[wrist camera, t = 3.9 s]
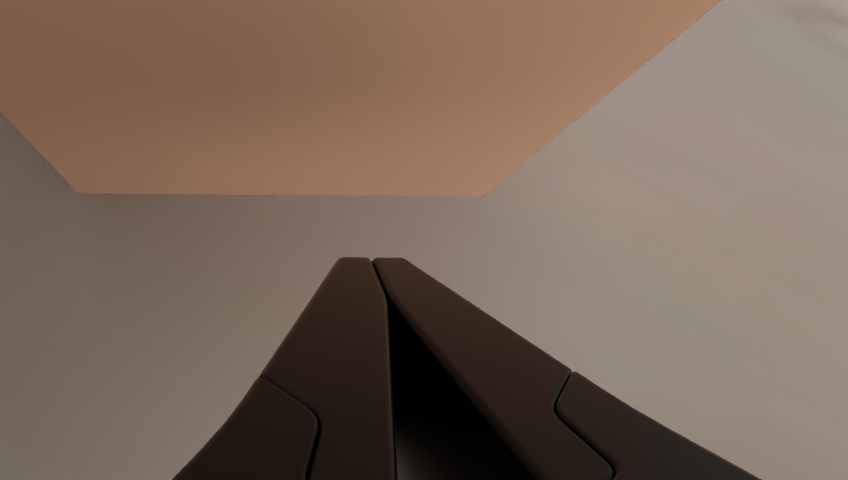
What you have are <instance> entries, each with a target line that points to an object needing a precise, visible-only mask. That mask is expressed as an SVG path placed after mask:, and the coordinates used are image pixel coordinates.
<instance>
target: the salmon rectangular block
mask: <svg viewBox="0 0 848 480" xmlns="http://www.w3.org/2000/svg"><path fill="white" fill-rule="evenodd" d="M721 1H722V0H0V112H1V113H2V114H3V115H4V116H5V117H6V118H7V119H8V120H9V121H10V122H11V123H12V124H13V126H14V127H15V128H16V129H17V130H18V131H19V132H20V133H21V134H22V135H23V136H24V137H25V138H26V139H27V140H28V141H29V142H30V143H31V145H32V146H33V147H34V148H35V149H36V150H37V151H38V152H39V153H40V154H41V155H42V156H43V157H44V158H45V159H46V160H47V161H48V162H49V164H50V165H51V166H52V167H53V168H54V169H55V170H56V171H57V172H58V173H59V174H60V175H61V176H62V177H63V178H64V179H65V180H66V182H67V183H68V184H69V185H70V186H71V187H72V188H73V189H74V190H75V191H76V192H77V193H78V194H211V195H356V196H485V195H486V194H487V193H488V192H489V191H491V190H492V189H493V188H494V187H495V186H497V185H498V184H499V183H500V182H502V181H503V180H504V179H505V178H506V177H508V176H509V175H510V174H511V173H512V172H514V171H515V170H516V169H517V168H519V167H520V166H521V165H522V164H523V163H525V162H526V161H527V160H528V159H530V158H531V157H532V156H533V155H534V154H536V153H537V152H538V151H539V150H540V149H542V148H543V147H544V146H545V145H547V144H548V143H549V142H550V141H551V140H553V139H554V138H555V137H556V136H558V135H559V134H560V133H561V132H562V131H564V130H565V129H566V128H567V127H568V126H570V125H571V124H572V123H573V122H575V121H576V120H577V119H578V118H579V117H581V116H582V115H583V114H584V113H586V112H587V111H588V110H589V109H590V108H592V107H593V106H594V105H595V104H596V103H598V102H599V101H600V100H601V99H603V98H604V97H605V96H606V95H607V94H609V93H610V92H611V91H612V90H613V89H615V88H616V87H617V86H618V85H620V84H621V83H622V82H623V81H624V80H626V79H627V78H628V77H629V76H631V75H632V74H633V73H634V72H635V71H637V70H638V69H639V68H640V67H641V66H643V65H644V64H645V63H646V62H648V61H649V60H650V59H651V58H652V57H654V56H655V55H656V54H657V53H659V52H660V51H661V50H662V49H663V48H665V47H666V46H667V45H668V44H669V43H671V42H672V41H673V40H674V39H676V38H677V37H678V36H679V35H680V34H682V33H683V32H684V31H685V30H686V29H688V28H689V27H690V26H691V25H693V24H694V23H695V22H696V21H697V20H699V19H700V18H701V17H702V16H704V15H705V14H706V13H707V12H708V11H710V10H711V9H712V8H713V7H714V6H716V5H717V4H718V3H719V2H721Z"/></svg>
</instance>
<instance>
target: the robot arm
mask: <svg viewBox="0 0 848 480" xmlns="http://www.w3.org/2000/svg"><path fill="white" fill-rule="evenodd" d="M172 480H761V479H759V478H757V477H756V476H754V475H752V474H750V473H748V472H747V471H745V470H743V469H741V468H739V467H737V466H736V465H734V464H732V463H730V462H728V461H727V460H725V459H723V458H721V457H719V456H718V455H716V454H714V453H712V452H710V451H708V450H707V449H705V448H703V447H701V446H699V445H698V444H696V443H694V442H692V441H690V440H689V439H687V438H685V437H683V436H681V435H679V434H678V433H676V432H674V431H672V430H670V429H669V428H667V427H665V426H663V425H662V424H660V423H658V422H656V421H655V420H653V419H651V418H649V417H648V416H646V415H644V414H642V413H641V412H639V411H637V410H635V409H634V408H632V407H630V406H629V405H627V404H626V403H624V402H623V401H621V400H619V399H618V398H616V397H615V396H613V395H611V394H610V393H608V392H607V391H605V390H603V389H602V388H600V387H599V386H597V385H596V384H594V383H593V382H591V381H590V380H588V379H587V378H585V377H584V376H582V375H581V374H579V373H578V372H572V371H571V369H570V368H568V367H567V366H565V365H564V364H562V363H561V362H559V361H558V360H556V359H555V358H553V357H552V356H550V355H549V354H547V353H546V352H544V351H543V350H541V349H540V348H538V347H536V346H535V345H533V344H532V343H530V342H529V341H527V340H526V339H524V338H523V337H521V336H520V335H518V334H517V333H515V332H514V331H512V330H511V329H509V328H508V327H506V326H505V325H503V324H502V323H500V322H499V321H497V320H496V319H494V318H493V317H491V316H490V315H488V314H487V313H485V312H484V311H482V310H481V309H479V308H478V307H476V306H475V305H473V304H472V303H470V302H469V301H467V300H466V299H464V298H463V297H461V296H460V295H458V294H457V293H455V292H454V291H452V290H451V289H449V288H448V287H446V286H445V285H443V284H442V283H440V282H438V281H437V280H435V279H434V278H432V277H431V276H429V275H428V274H426V273H425V272H423V271H422V270H420V269H419V268H417V267H416V266H414V265H413V264H411V263H410V262H408V261H407V260H405V259H403V258H375V259H374V260H373V261H372V262H371V260H370V259H369V258H359V257H342V258H339V259H338V260H337V261H336V263H335V264H334V266H333V267H332V269H331V270H330V272H329V273H328V275H327V276H326V278H325V279H324V281H323V282H322V284H321V285H320V287H319V288H318V290H317V291H316V293H315V294H314V296H313V297H312V299H311V300H310V302H309V303H308V305H307V306H306V307H305V309H304V310H303V312H302V313H301V315H300V316H299V318H298V319H297V321H296V322H295V324H294V325H293V327H292V328H291V330H290V331H289V333H288V334H287V336H286V337H285V339H284V340H283V342H282V343H281V345H280V346H279V348H278V349H277V351H276V352H275V354H274V355H273V357H272V358H271V360H270V361H269V363H268V364H267V365H266V367H265V368H264V370H263V371H262V373H261V374H260V376H259V378H258V379H256V380H255V382H254V383H253V385H252V386H251V388H250V389H249V391H248V392H247V394H246V395H245V397H244V398H243V399H242V401H241V402H240V403H239V405H238V406H237V407H236V409H235V410H234V411H233V413H232V414H231V415H230V417H229V418H228V419H227V421H226V422H225V423H224V424H223V426H222V427H221V428H220V429H219V430H218V431H217V432H216V433H215V434H214V436H213V437H212V438H211V439H210V440H209V441H208V442H207V443H206V444H205V446H204V447H203V448H202V449H201V450H200V451H199V452H198V453H197V454H196V455H195V456H194V457H193V458H192V459H191V460H190V461H189V462H188V464H187V465H186V466H185V467H184V468H183V469H182V470H181V471H180V472H179V473H178V474H177V475H176V476H175V477H174V478H173V479H172Z"/></svg>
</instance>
